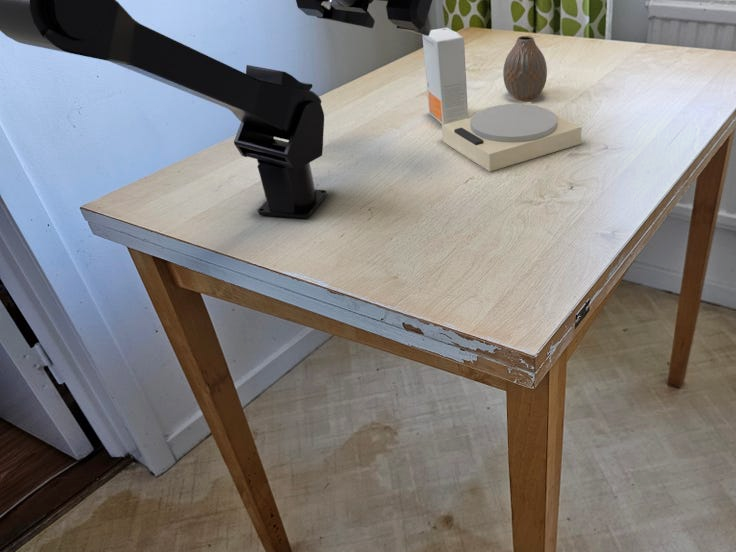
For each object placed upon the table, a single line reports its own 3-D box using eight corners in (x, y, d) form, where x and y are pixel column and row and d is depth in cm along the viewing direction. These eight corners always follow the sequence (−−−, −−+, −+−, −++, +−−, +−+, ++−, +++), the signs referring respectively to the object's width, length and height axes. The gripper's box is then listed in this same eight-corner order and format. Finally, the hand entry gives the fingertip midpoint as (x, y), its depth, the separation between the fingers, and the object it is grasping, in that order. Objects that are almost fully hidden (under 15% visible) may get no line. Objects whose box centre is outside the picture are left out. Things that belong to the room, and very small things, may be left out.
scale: (489, 171, 86) (489, 148, 84) (442, 141, 94) (440, 119, 92) (580, 144, 92) (582, 121, 90) (528, 117, 100) (529, 96, 98)
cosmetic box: (428, 115, 103) (420, 31, 95) (453, 109, 104) (448, 26, 96) (443, 127, 98) (436, 41, 91) (469, 122, 100) (465, 36, 92)
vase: (530, 106, 104) (531, 46, 98) (495, 98, 107) (493, 40, 101) (554, 93, 108) (556, 35, 102) (519, 86, 111) (519, 29, 105)
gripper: (415, -117, 69) (479, -28, 83) (284, -119, 76) (363, -38, 91) (383, -10, 70) (452, 60, 84) (257, -23, 77) (339, 43, 91)
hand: (400, 28), depth 87 cm, fingers open, 9 cm apart
